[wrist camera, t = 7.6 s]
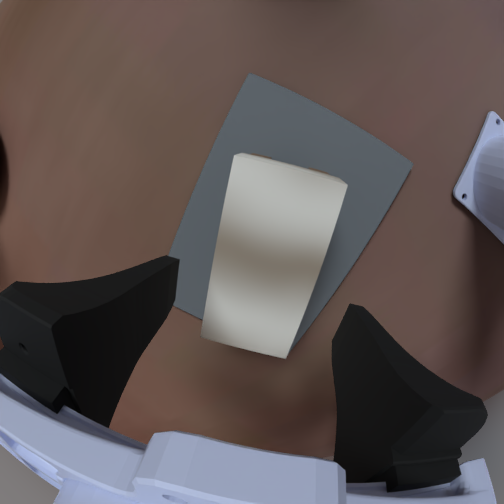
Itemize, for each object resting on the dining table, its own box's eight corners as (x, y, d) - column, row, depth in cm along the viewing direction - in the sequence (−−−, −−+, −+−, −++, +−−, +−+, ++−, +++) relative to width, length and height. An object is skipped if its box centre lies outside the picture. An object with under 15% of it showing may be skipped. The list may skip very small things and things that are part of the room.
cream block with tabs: (288, 303, 21) (285, 358, 16) (222, 286, 21) (200, 337, 16) (329, 169, 17) (347, 185, 12) (252, 149, 17) (234, 155, 12)
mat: (250, 74, 16) (249, 72, 15) (410, 162, 17) (413, 163, 16) (157, 291, 23) (154, 295, 23) (285, 352, 24) (285, 357, 23)
